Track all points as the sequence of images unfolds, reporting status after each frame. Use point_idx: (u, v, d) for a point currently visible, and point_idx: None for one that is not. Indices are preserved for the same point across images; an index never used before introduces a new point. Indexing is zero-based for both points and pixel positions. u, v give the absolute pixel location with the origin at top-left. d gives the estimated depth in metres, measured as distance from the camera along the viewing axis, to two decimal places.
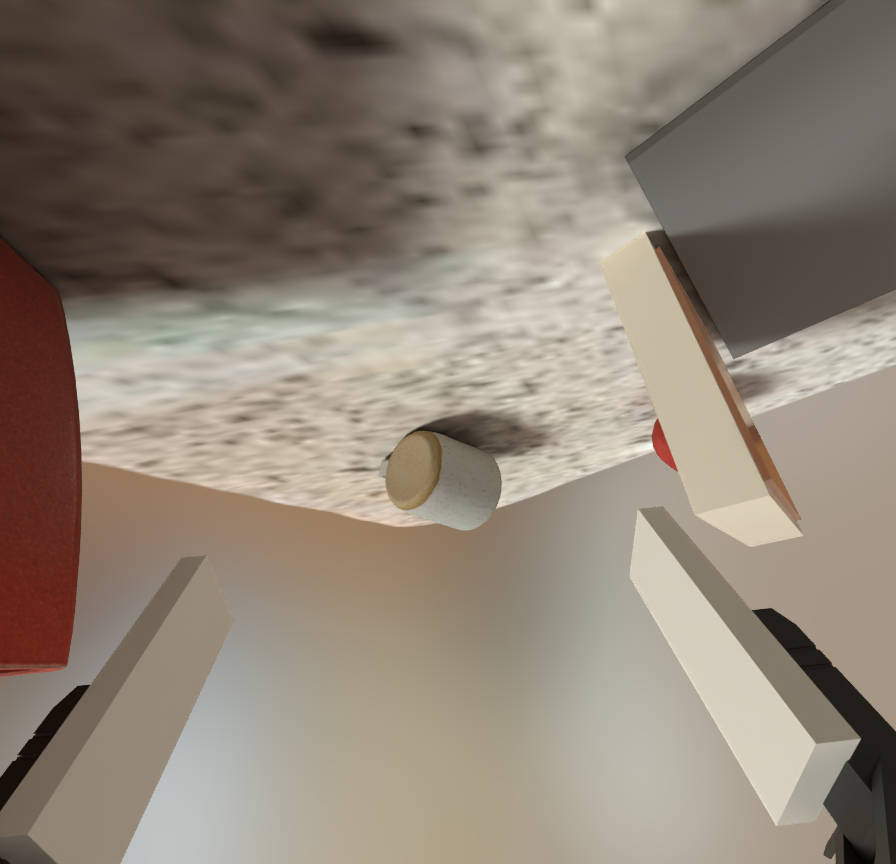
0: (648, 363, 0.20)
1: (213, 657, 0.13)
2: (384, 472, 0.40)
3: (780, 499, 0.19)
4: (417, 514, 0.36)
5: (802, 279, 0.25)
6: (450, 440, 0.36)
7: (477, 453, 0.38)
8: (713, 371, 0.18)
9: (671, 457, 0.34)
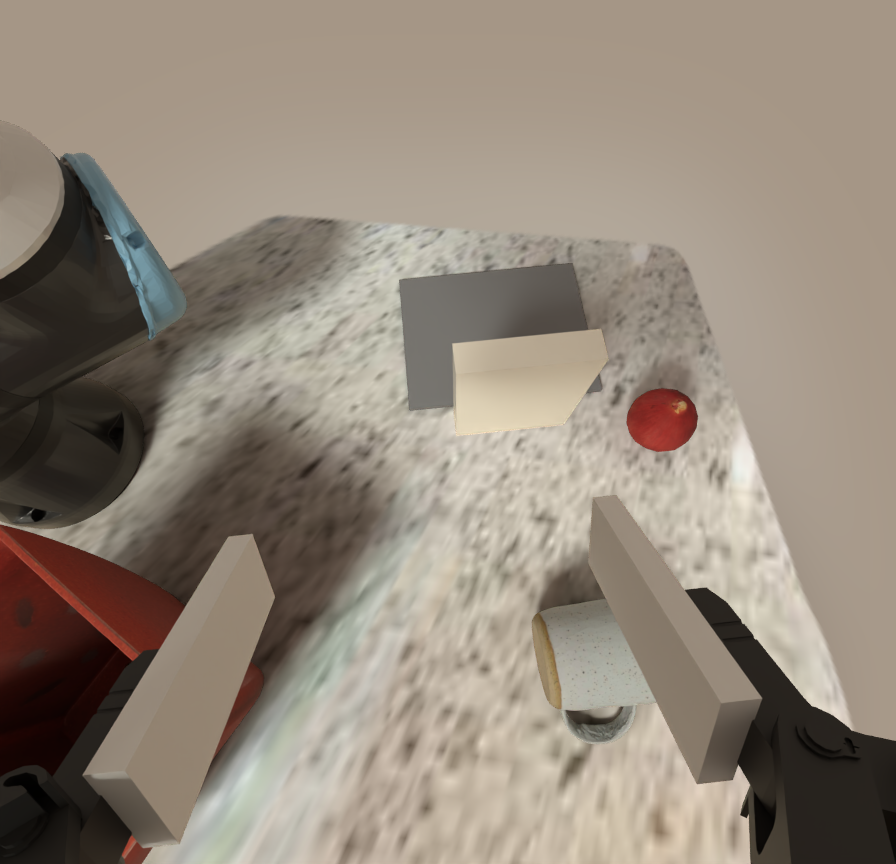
0: (455, 405, 0.38)
1: (259, 630, 0.13)
2: (561, 715, 0.34)
3: None
4: (571, 677, 0.31)
5: None
6: None
7: None
8: None
9: (655, 432, 0.38)
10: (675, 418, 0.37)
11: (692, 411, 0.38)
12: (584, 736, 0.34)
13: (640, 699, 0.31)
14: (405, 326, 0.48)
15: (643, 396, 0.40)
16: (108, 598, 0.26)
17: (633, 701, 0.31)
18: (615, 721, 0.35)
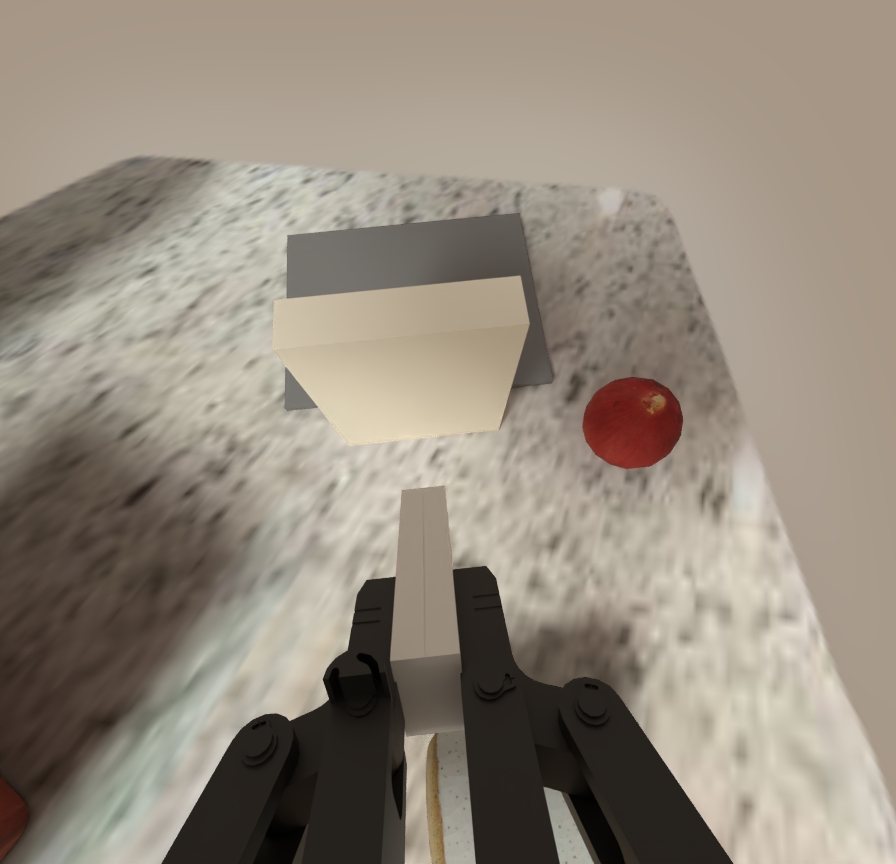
0: None
1: None
2: None
3: None
4: None
5: None
6: None
7: None
8: None
9: (620, 442, 0.26)
10: (649, 421, 0.25)
11: (675, 410, 0.25)
12: None
13: None
14: (290, 295, 0.35)
15: (604, 388, 0.27)
16: None
17: None
18: None
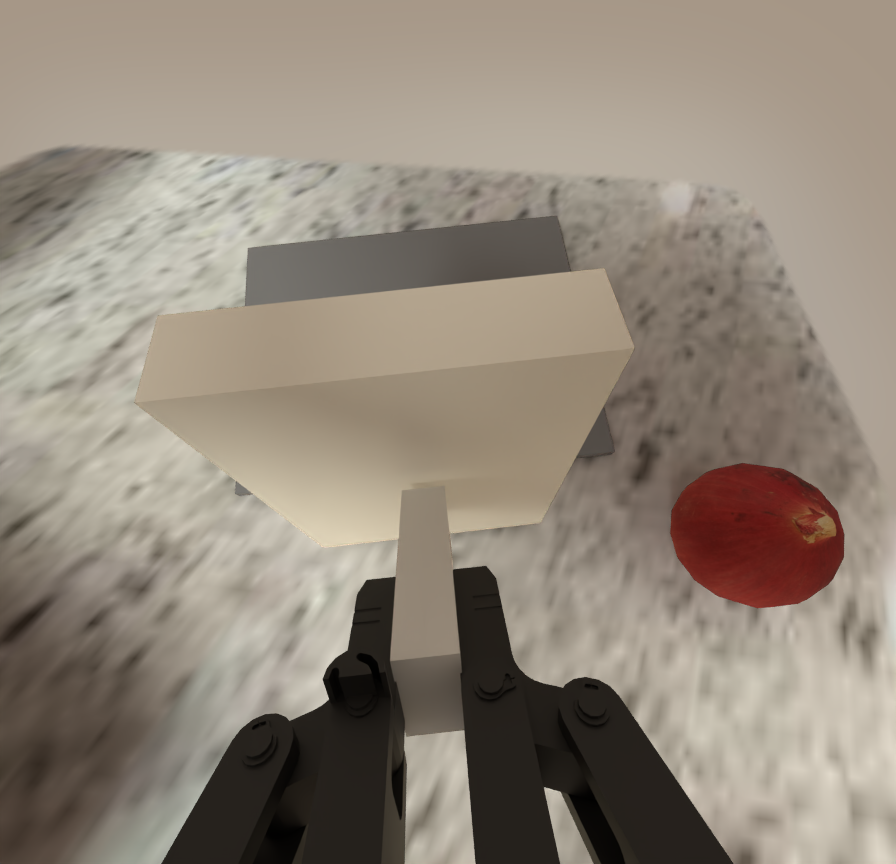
0: None
1: None
2: None
3: None
4: None
5: None
6: None
7: None
8: None
9: (747, 578, 0.16)
10: (802, 554, 0.15)
11: (841, 531, 0.16)
12: None
13: None
14: None
15: (711, 484, 0.18)
16: None
17: None
18: None
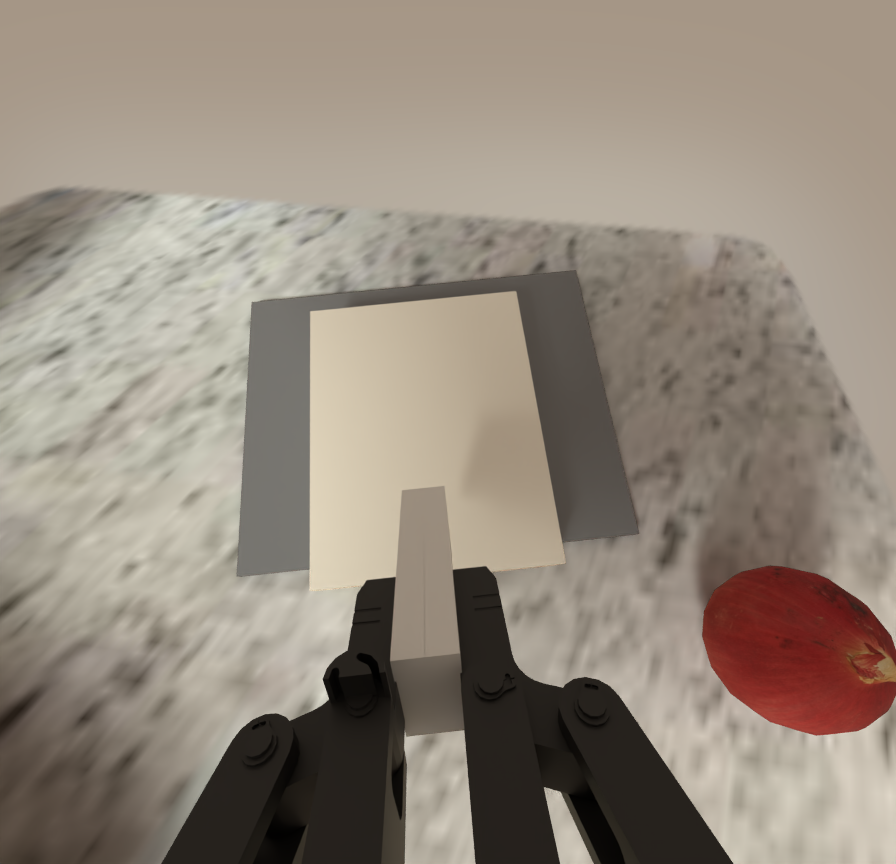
0: None
1: None
2: None
3: None
4: None
5: None
6: None
7: None
8: None
9: (793, 709, 0.15)
10: (857, 693, 0.14)
11: None
12: None
13: None
14: (252, 393, 0.25)
15: (750, 595, 0.16)
16: None
17: None
18: None
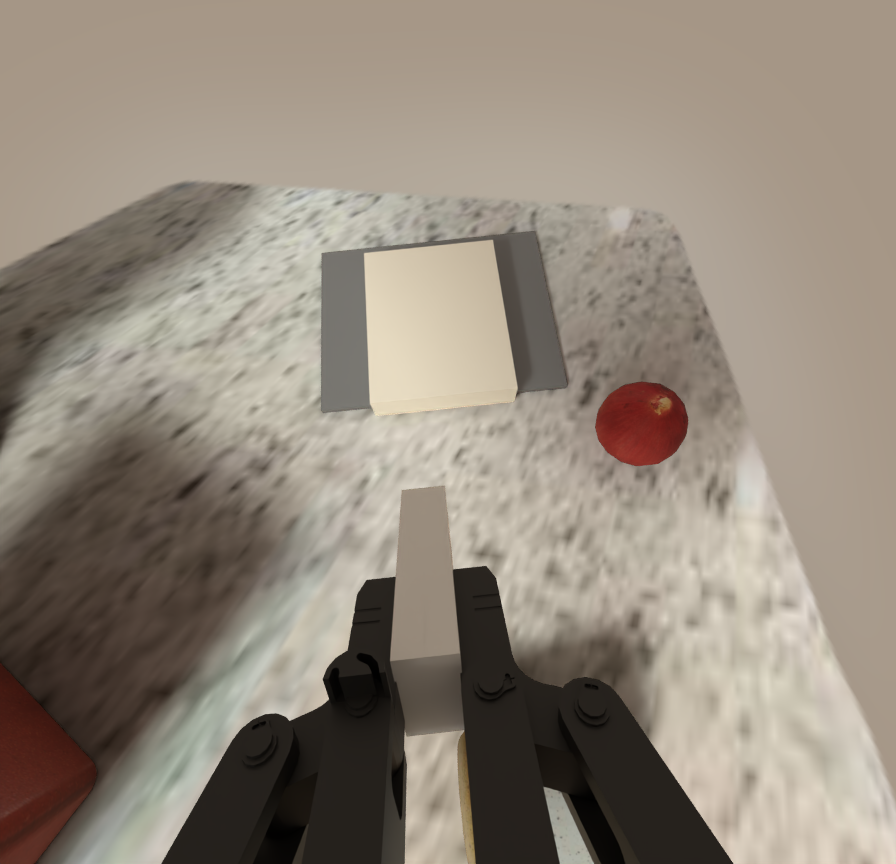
0: None
1: None
2: None
3: None
4: None
5: None
6: None
7: None
8: None
9: (630, 440, 0.28)
10: (656, 422, 0.27)
11: (680, 411, 0.28)
12: None
13: None
14: (325, 308, 0.39)
15: (615, 392, 0.30)
16: None
17: None
18: None
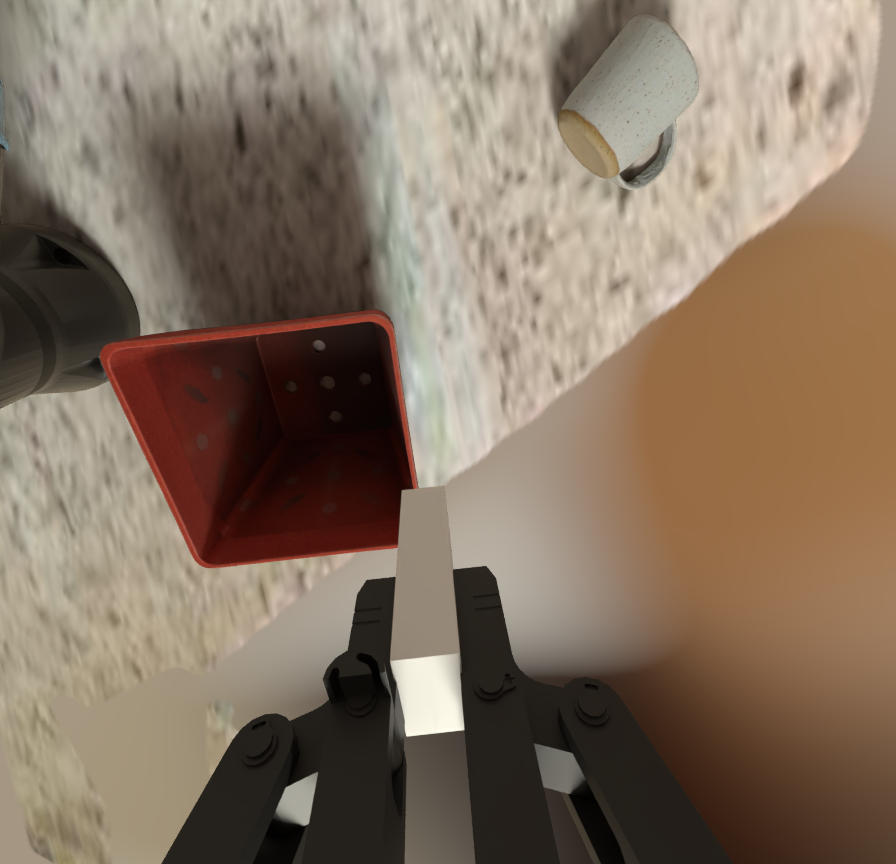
0: None
1: None
2: (618, 182, 0.38)
3: None
4: (620, 134, 0.32)
5: None
6: None
7: None
8: None
9: None
10: None
11: None
12: (641, 183, 0.39)
13: (682, 105, 0.33)
14: None
15: None
16: (236, 326, 0.30)
17: (676, 113, 0.33)
18: (660, 152, 0.39)
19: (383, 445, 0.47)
